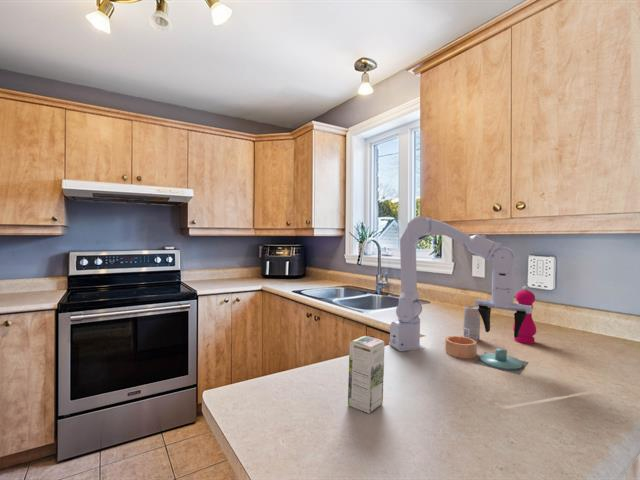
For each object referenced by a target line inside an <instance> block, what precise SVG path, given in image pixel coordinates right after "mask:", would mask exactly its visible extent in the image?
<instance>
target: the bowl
mask: <svg viewBox="0 0 640 480" xmlns="http://www.w3.org/2000/svg"><path fill="white" fill-rule="evenodd" d="M477 348H478V341H475V340H473V339H471V338H467V337H463V336H460V335H450V336H449V335H448V336H446V337H445V340H444V351H445V353H446V354H447V355H449V356H451V357H455V358H459V359H473V358H476V357H477V355H478V349H477Z"/></svg>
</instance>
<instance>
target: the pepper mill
mask: <svg viewBox="0 0 640 480" xmlns="http://www.w3.org/2000/svg"><path fill="white" fill-rule="evenodd" d="M515 299H516V300H515V301H517V303H516V304H522V305H527V306H531V313H530V314H527V316H526V317H525V319H524V321H523V323H522V325H521V328H520V331H519V336H518V337H517V338H516V337H513V339H514V341H515V342H517V343H519V344H525V345H533V344H535V339H536V338H535V337H534V335H536V334H537V326H536V324H535V322H534V320H533V315H532V314H533V313H532V311H533V309H534V303H535V301H536V296H535V294H534V292H532V291H531V290H529V286H527V285H524V286H523V287H522V290H519V291H518V292H516V293H515ZM512 326H513V327H512V329H513V331H514V329H515V321H514V323H513V325H512Z"/></svg>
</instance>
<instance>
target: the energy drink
mask: <svg viewBox="0 0 640 480" xmlns="http://www.w3.org/2000/svg"><path fill="white" fill-rule="evenodd" d="M478 308H479V307H478V306H474V305H465V306H464V308H463V332H462V333H463V334H462V335H463V336H462V337H467V338H471V339H473V340H475V341H476V342H479V341H480V336H481V335H480V333H481V331H480V330H481V327H480V326H481V315H480V313H479V311H478Z"/></svg>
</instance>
